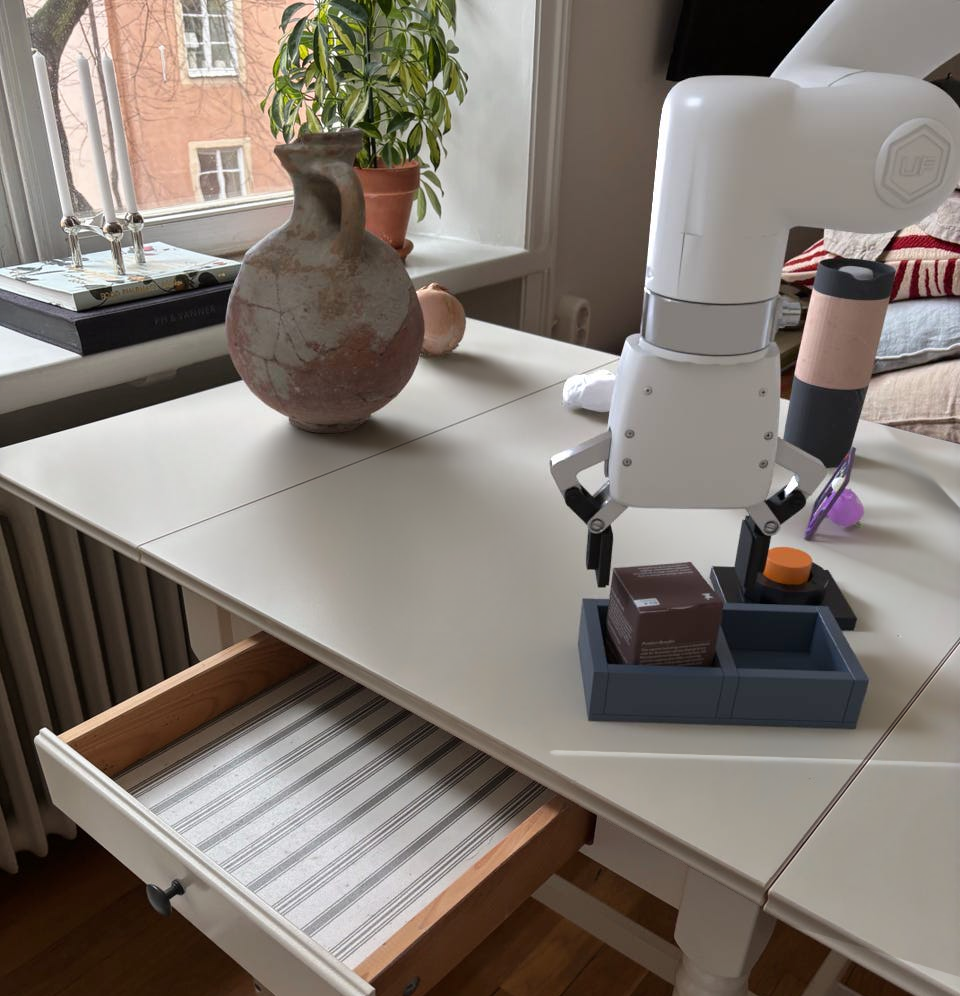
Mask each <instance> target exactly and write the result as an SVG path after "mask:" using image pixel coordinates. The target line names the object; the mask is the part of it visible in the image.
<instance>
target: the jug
mask: <svg viewBox="0 0 960 996" xmlns="http://www.w3.org/2000/svg"><path fill="white" fill-rule="evenodd" d="M363 136H364V131H363V130H362V129H360V128H358V127H340V128H339V130H338V131H325V132H322V131H321V132H318V131H317V132H307V133H305V132H303V133H302V134H300V135H299V136H298V137H297V138H295V139H294V141H292V142H291V143H283V144H282V143H281V144H276V145H275V146H274V148H273V153H274V155H275V156H276V157H277V159H278V160H279V162H280V163H279V164H280V166H281V167H282V168H283V169H284V170H285V171H286V173H287V175H288V176H289V178H290V180H291V184H292V189H293V203H292V208H291V212H290V216H289V218H288V219H287V220H286V221H285V222H284V223H283V224H282V225H281V226H279V227H277V228H275V229H273V230H272V231H270V232H269V233H268V234H267V235H266V236H264V237H263V238H262V239H261V240H259V241H258V242H257V243H255V244H254V245H253V246H252V247H250V248H249V249H248V250H247V251H246V252H245V254H244V257H243V259H242V263H241V266H240V268H239V271H238V274H237V276H236V278H235V280H234V282H233V285H232V288H231V291H230V294H228V296H229V297H228V300H227V301H228V302H227V307H226V313H225V322H224V324H225V337H226V342H227V348H228V353H229V356H230V358H231V361H232V364H233V366H234V368H235V370H236V372H237V373H238V375H239V376H240V378H241V380H242V382H244V384H245V385H246V386H247V388H248V389H249V390H250V392H251V393H252V395H254V396H255V397H256V398H258V399H259V400H260V401H261V402H262V403H263V404H265V405H266V406H268V407H269V408H270V409H273V410H274V411H276V412H277V413H279V414H281V415H283V416H285V417H287V418H288V421H289V423H290V424H292V425H293V426H295V427H297V428H299V429H302V430H303V431H306V432H310V433H324V434H330V433H331V434H339V433H343V432H347V431H351V430H354V429H357V428H358V427H360V425H361V424H364V423H366V421H367V420H368V419H370V418H371V417H372V414H374V413H376V412H378V411H380V410H381V409H382V408H384V407H386V406H387V405H388V404H389V403H391V402H392V401H393V400H394V399H396V397H398V395H400V393H401V392H402V391H403V390H404V389H405V387H406V386H407V385H408V384H409V382H410V380H411V378H412V377H413V375H414V373H415V371H416V369H417V366H418V364H419V362H420V358H421V355H420V354H421V351H422V346H423V342H424V334H425V324H424V317H423V312H422V308H421V305H420V302H419V299H418V296H417V293H416V288H415V286H414V283H413V281H412V279H411V277H410V274H409V272H408V270H407V269H406V267H405V265H404V263H403V260H402V259H401V257H400V254H399V252H398V250H396V249H395V248H394V247H393V246H392V245H390V244H389V243H388V242H386V241H384V240H382V239H381V238H380V237H378V236H377V235H376V234H374V233H373V232H372V231H370V230H369V229H367V228H366V223H367V216H366V215H367V213H366V211H367V210H366V199H365V194H364V188H363V185H362V181H361V180H360V178H359V175H358V174H357V172H356V170H355V169H354V164H355V159H356V157H357V155H358V154H359V153H361V152H362V151H363V149H364V143H363V142H364V141H363Z"/></svg>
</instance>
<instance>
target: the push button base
mask: <svg viewBox="0 0 960 996" xmlns="http://www.w3.org/2000/svg"><path fill="white" fill-rule="evenodd" d="M709 580H710V582H711V586H712V589H713V590H714V591H715V593H716V594H717V595H718V596H719V597H720V599H721V600H722V601H723V603H742V604H773V605H804V606H828V607H829V609H830V611H831V613H832V615H833V616H834V618H835V620H836V622H837V623H838V625H839V627H840V629H841V631H842V632H843V631H846V632H847V631H848V632H854V631H855V628H856V626H857V621H858V617H857V615H856V614H855V612H854V610H853V609H852V607H851V606H850V604H849V602H848V601H847V599H846V597H845V595H844V594H843V592H842V589H840V587H839V585H838V584H837V582H836V581H835V580H836V579H834V577H833V575H832V574H831V572H830V570H829V569H824V567H822V566H821V565H819V564H817V563H815V562H813V561H812V566H811V570H810V574H809V578H808V581H807V582H806V583H804V584H800V585H796V584H783V583H779V582H775V581H772V580H770V579H769V578H767V577H766V576H764V575H763V572H758V574H757V579H756V584H755V589H754V590H747V589H745V587H742V585H741V582H740V580H739V578H738V575H737V573H736V571H735V566H724V565H723V566H719V565H712V566H711V567H710V572H709Z"/></svg>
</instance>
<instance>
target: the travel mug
mask: <svg viewBox="0 0 960 996" xmlns="http://www.w3.org/2000/svg"><path fill="white" fill-rule="evenodd" d="M896 274H897V270H896V267H894V266H892V265H890V264H887V263H884V262H880V261H877V260H876V261H875V260H870V259H863V258H854V257H853V258H851V257H829V258H825V259H822V260H819V262H818V264H817V268H816V273H815V277H814V281H813V287H812V291H811V295H810V300H809V304H808V308H807V313H806V319H805V322H804V327H803V332H802V336H801V343H800V346H799V351H798V355H797V360H796V364H795V370H794V375H793V379H792V386H791V391H790V397H789V402H788V409H787V414H786V420H785V426H784V431H783V437H782V439H783V440H785V441H787V442H788V443H790V444H792V445H794V446H796V447H797V448H799V449H801V450H803V451H805V452H807V453H808V454H810V455H812V456H814V457H816V458H817V459H819V460H820V461H821V462H822V463H823V465H824V466H825V468H835V467H839V465H840V464H841V463H842V461H843V460H844V458H845V457H846V455H847V454H848V452H849V451H850V449H851V448H852V447H853V442H854V439H855V436H856V432H857V428H858V425H859V421H860V418H861V415H862V411H863V408H864V404H865V400H866V397H867V394H868V390H869V386H870V383H871V378H872V374H873V370H874V365H875V361H876V358H877V353H878V349H879V345H880V341H881V336H882V332H883V328H884V324H885V320H886V316H887V313H888V312H887V311H888V307H889V304H890V303H889V302H890V299H891V294H892V290H893V286H894V282H895V278H896Z"/></svg>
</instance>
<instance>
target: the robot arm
mask: <svg viewBox="0 0 960 996" xmlns="http://www.w3.org/2000/svg"><path fill="white" fill-rule="evenodd" d="M958 54H960V0H833V2H832V3H830V5H829V6H828V7H827V8H826V9H825V10H824V11H823V13H822V14H821V15H820V16H819V17H818V18H817V19H816V21H814V23H813V24H812V25H811V27H810V28H809V29H808V30H807V31H806V32H805V33H804V35H803V36H802V37H801V38H800V39H799V41H798V42H797V43H796V44H795V45H794V47H792V49H791V50H790V51H789V53H787V55H786V56H785V57H784V58H783V60H782V61H781V62H780V63H779V65H778V66H777V67H776V68H775V69H774V71H773V72H772V73H771V75H770V76H757V75H702V76H701V75H699V76H695V77H689V78H685V79H684V80H681V81H679V82H677V83H676V84H675V85H674V86H672V87H671V89H670V90H669V92H668V93H667V96H666V97H665V99H664V101H663V106H662V110H661V117H660V124H659V134H658V144H657V154H656V155H657V156H656V165H655V174H654V186H653V195H652V196H653V197H652V206H651V207H652V208H651V217H650V228H649V239H648V250H647V258H646V259H647V260H646V269H645V270H646V271H645V280H644V281H645V282H644V289H643V300H642V309H641V321H640V328H639V329H640V330H639V333H632V334H630V335H629V336H627V337H626V338H625V341H624V344H623V348H622V351H621V354H620V358H619V361H618V366H617V370H616V373H615V374H616V379H615V384H614V389H613V395H612V401H611V407H610V410H609V413H608V415H609V416H608V420H607V421H608V422H607V426H606V427H607V428H606V431H605V432H603V433H601V434H599V435H596V436H594V437H591V438H590V439H588V440H585V441H583V442H581V443H579V444H576V445H575V446H573V447H570V448H569V449H566V450H564V451H561V452H559V453H557V454H555V455H553V456H552V457H550V459H549V469H550V475H551V477H552V478H553V480H554V482H555V484H556V487H557V488H558V489H559V492H560V493H561V495H562V497H563V499H564V503H565V505H566V506H567V507H568V508H569V509H570V510H571V511H572V512H573V513H574V514H575V515H576V516H577V517H578V518H579V519H580V520H581V521H582V522H583V523H584V524H585V525H586V526H587V538H586V549H585V551H586V552H585V566H586V570H587V571H589V570H590V571H594V574H595V579H596V584H597V585H596V586H597V588H603V589H604V588H607V587H609V586H610V579H611V569H612V560H613V559H612V558H613V547H614V533H613V528H612V524H613V523H614V521H616V520H617V519H618V518H619V517H620V516H621V515H622V514H623V513H624V512H625V511H626V510H627V509H628V508H634V509H658V510H659V509H661V510H662V509H665V510H743V509H744V510H745V511H746V512H747V514H748V515H745V516H744V519H742V520H741V525H740V532H739V537H738V541H737V542H738V543H737V549H736V555H735V561H734V567H735V571H736V573H737V575H738V578H739V580H740V582H741V585H742V587H745V589H747V590H754V589H755V584H756V579H757V574H758V572H764V571H765V567H766V562H767V557H768V551H769V550H770V545H771V541H772V536H776V535H777V534H778V533H779V531H780V530H781V526H782V525H783V524H784V523H786V522H787V521H788V520H789V519H791V518H792V517H794V516H795V515H796V514H798V512H800V511H801V510H803V509H804V508H805V507H806V506H807V505H806V504H807V500H808V499H809V497H810V496H812V495H813V494H814V493H815V492H816V490H817V488H819V486H820V485H821V484H822V482H823V481H824V480H825V478H826V477H827V475H828V469H827V467H825V466H824V465H823V463H822V462H821V461H820V460H819V459H817V458H816V457H814V456H812V455H810V454H808V453H807V452H805V451H803V450H801V449H799V448H797V447H796V446H794V445H792V444H790V443H788V442H787V441H785V440H783V438H781V437H779V426H780V413H781V412H780V409H781V389H782V388H781V383H782V381H781V380H782V379H781V378H782V376H781V375H782V374H781V373H782V372H781V351H780V348H779V346H778V343H777V342H776V341H775V338H776V334H777V333H779V332H778V331H779V330H780V329H785V327H786V326H787V327H796V326H798V325H799V323H800V320H801V316H802V315H801V313H802V307H801V303H800V301H788V299H787V298H782V295H781V294H780V286H781V281H782V274H783V268H784V263H785V257H786V252H787V246H788V240H789V234H790V230H791V229H793V228H795V227H806V228H815V229H822V230H823V229H825V230H831V231H839V232H846V233H853V234H854V233H855V234H862V235H879V234H886V233H892V232H897V231H900V230H904V229H906V228H909V227H911V226H913V225H916V224H918V223H920V222H922V221H923V220H924V219H927V218H928V217H930V216H931V215H932V214H933V213H935V212H936V211H937V210H939V208H940V207H941V206H942V205H944V203H946V201H947V200H948V199H949V198H950V196H951V195H952V194H953V193H954V191H955V190H956V188H957V186H958V185H959V183H960V107H959V105H958V104H957V103H956V102H955V99H953V98H952V97H951V96H950V95H949V94H948V93H947V92H946V91H945V90H943V89H941V87H938V86H937V85H935V84H933V83H931V82H929V81H927V80H924V79H925V78H927V76H928V75H930V74H931V73H932V72H934V71H935V70H936V69H938V68H939V67H940V66H943V64H945V63H946V62H947V61H949V60H951V59H952V58H953V57H955V56H957V55H958ZM600 463H603V475H604V477H605V478H608V480H607V481H606V482H605V483H604V484H603V485H602V486H601V487H600V488H599V489H598V490H597V491H596V492H594V494H593V495H592V494H591V493H590V492H589V491H588V490H587V489H586V488H585V486H584V485H582V484H581V483H580V481H579V479H578V477H577V475H578V474H579V473H581V472H583V471H584V470H587V469H589V468H591V467H593V466H595V465H598V464H600ZM776 464H778V465H779V466H781V467H783V468H785V469H786V470H788V471H790V472H791V473H793V476H792V478H791V479H790V482H789V483H787V484H786V485H784V486H782V488H780V489H779V490H778V491H776V492H775V493H774V494H772V495H771V496H770V497H768V496H769V493H770V491H771V487H772V482H773V478H774V473H775V472H774V471H775V465H776ZM767 498H768V499H767Z"/></svg>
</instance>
